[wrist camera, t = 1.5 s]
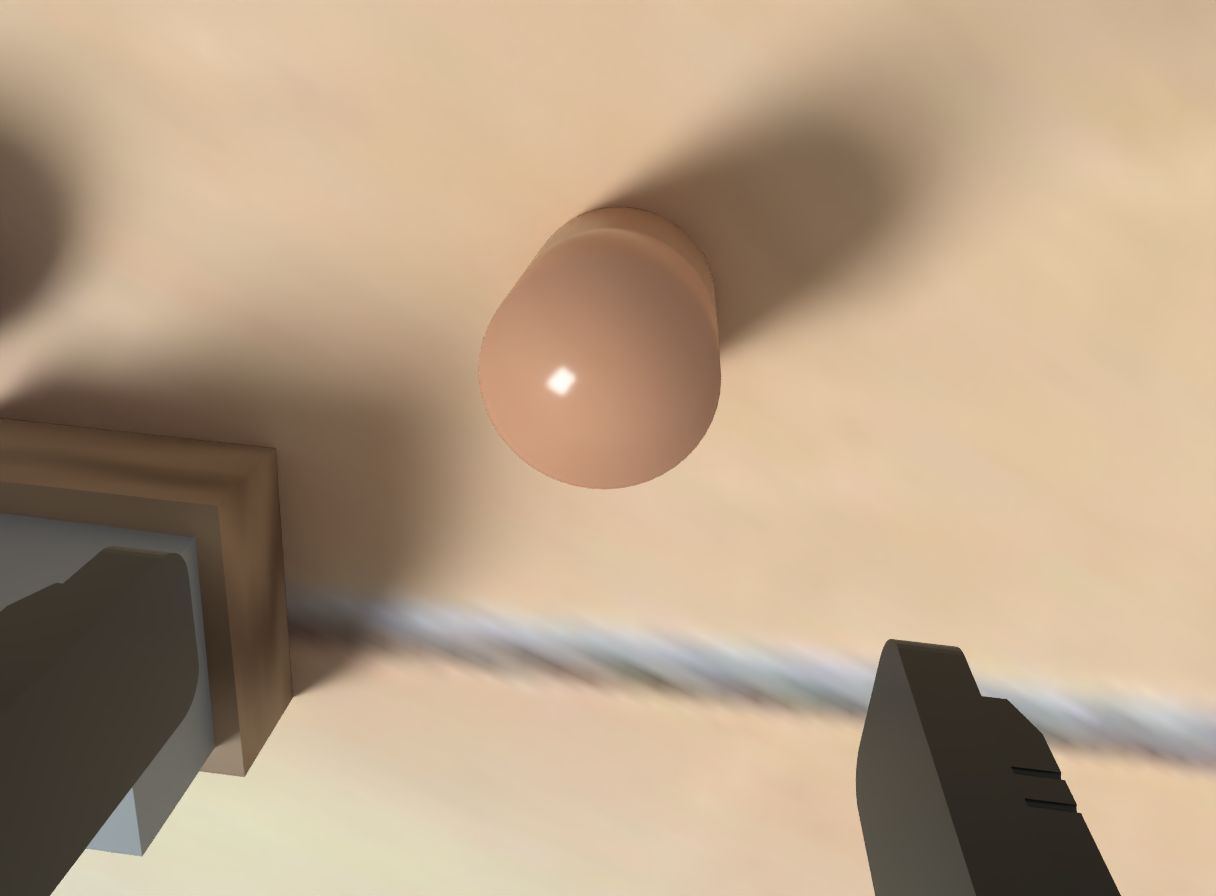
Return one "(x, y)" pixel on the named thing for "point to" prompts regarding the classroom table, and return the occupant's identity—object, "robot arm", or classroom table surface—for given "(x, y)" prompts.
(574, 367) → the terracotta cylinder
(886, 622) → the classroom table surface
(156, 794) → the top block
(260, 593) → the bottom block
